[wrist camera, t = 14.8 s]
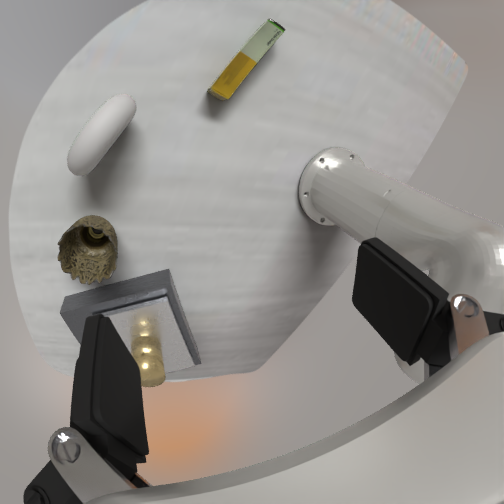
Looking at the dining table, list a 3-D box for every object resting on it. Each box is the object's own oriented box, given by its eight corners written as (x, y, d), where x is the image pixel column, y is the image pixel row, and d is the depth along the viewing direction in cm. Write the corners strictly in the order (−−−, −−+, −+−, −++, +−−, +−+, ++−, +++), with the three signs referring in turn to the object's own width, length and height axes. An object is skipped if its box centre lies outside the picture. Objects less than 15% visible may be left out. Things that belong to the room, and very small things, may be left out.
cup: (118, 257, 36) (112, 290, 30) (71, 247, 33) (56, 278, 26) (128, 208, 34) (122, 234, 27) (77, 197, 30) (59, 220, 24)
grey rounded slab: (95, 170, 30) (74, 193, 22) (76, 156, 28) (48, 174, 20) (145, 106, 28) (139, 104, 20) (125, 90, 26) (112, 83, 18)
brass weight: (155, 332, 38) (158, 364, 33) (165, 352, 40) (170, 383, 35) (126, 339, 37) (125, 371, 32) (137, 359, 39) (139, 389, 34)
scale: (169, 268, 40) (171, 286, 36) (197, 347, 49) (201, 365, 45) (65, 296, 36) (59, 315, 32) (110, 367, 45) (110, 385, 42)
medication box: (259, 24, 27) (270, 16, 23) (275, 36, 28) (288, 29, 25) (205, 91, 30) (209, 88, 26) (222, 102, 31) (229, 101, 28)
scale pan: (167, 296, 37) (167, 300, 36) (193, 361, 45) (194, 366, 44) (90, 315, 34) (90, 320, 33) (130, 376, 42) (130, 380, 41)
